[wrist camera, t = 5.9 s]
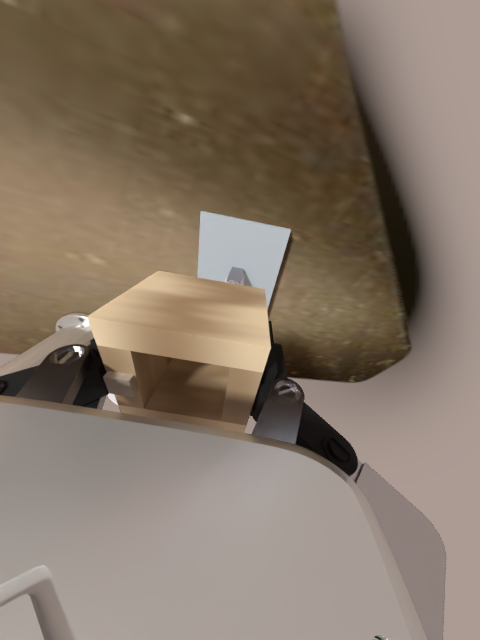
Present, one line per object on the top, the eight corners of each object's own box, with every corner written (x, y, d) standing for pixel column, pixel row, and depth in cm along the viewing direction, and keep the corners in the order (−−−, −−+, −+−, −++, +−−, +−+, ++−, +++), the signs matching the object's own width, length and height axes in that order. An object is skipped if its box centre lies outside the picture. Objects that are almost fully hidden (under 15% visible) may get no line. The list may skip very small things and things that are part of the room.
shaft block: (262, 320, 30) (263, 343, 25) (198, 307, 30) (185, 328, 25) (289, 228, 23) (298, 235, 18) (203, 211, 23) (187, 212, 18)
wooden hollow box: (265, 289, 10) (271, 353, 6) (246, 364, 13) (242, 444, 9) (158, 270, 10) (78, 321, 6) (165, 351, 13) (119, 425, 9)
